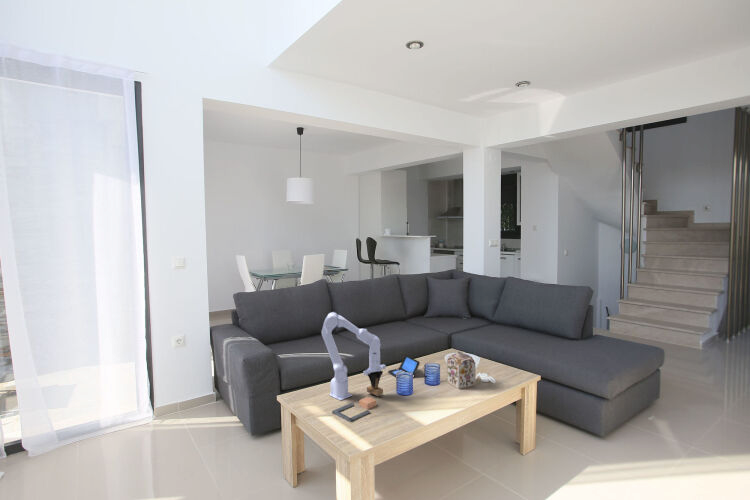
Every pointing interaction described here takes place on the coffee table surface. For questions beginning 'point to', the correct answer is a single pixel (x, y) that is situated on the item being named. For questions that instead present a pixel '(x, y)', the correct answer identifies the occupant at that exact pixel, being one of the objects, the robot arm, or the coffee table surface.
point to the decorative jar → (461, 370)
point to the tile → (367, 402)
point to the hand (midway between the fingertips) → (374, 385)
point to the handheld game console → (406, 366)
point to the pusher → (375, 389)
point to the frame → (337, 412)
